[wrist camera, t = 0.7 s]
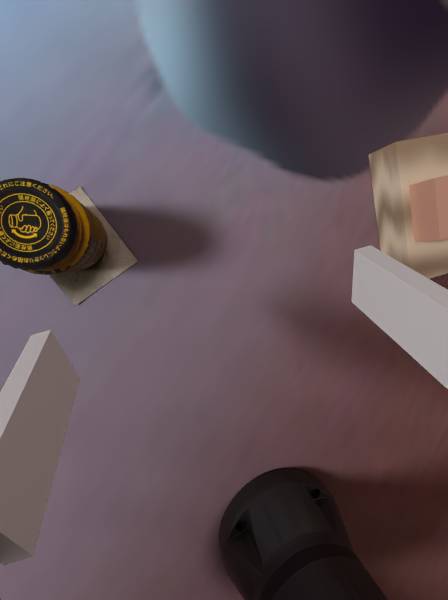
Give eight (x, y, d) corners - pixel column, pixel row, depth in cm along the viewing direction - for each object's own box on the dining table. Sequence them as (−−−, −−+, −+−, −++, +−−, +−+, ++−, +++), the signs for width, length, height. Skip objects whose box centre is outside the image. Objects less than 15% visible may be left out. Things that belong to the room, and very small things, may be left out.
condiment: (80, 186, 28) (34, 136, 17) (138, 261, 30) (131, 262, 19) (12, 231, 28) (-86, 211, 16) (76, 305, 30) (30, 334, 18)
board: (484, 253, 41) (519, 252, 37) (384, 281, 38) (411, 283, 34) (476, 135, 38) (513, 121, 34) (368, 154, 35) (395, 141, 31)
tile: (457, 230, 34) (486, 227, 32) (414, 241, 33) (439, 240, 30) (453, 175, 33) (482, 167, 31) (408, 185, 32) (434, 178, 29)
